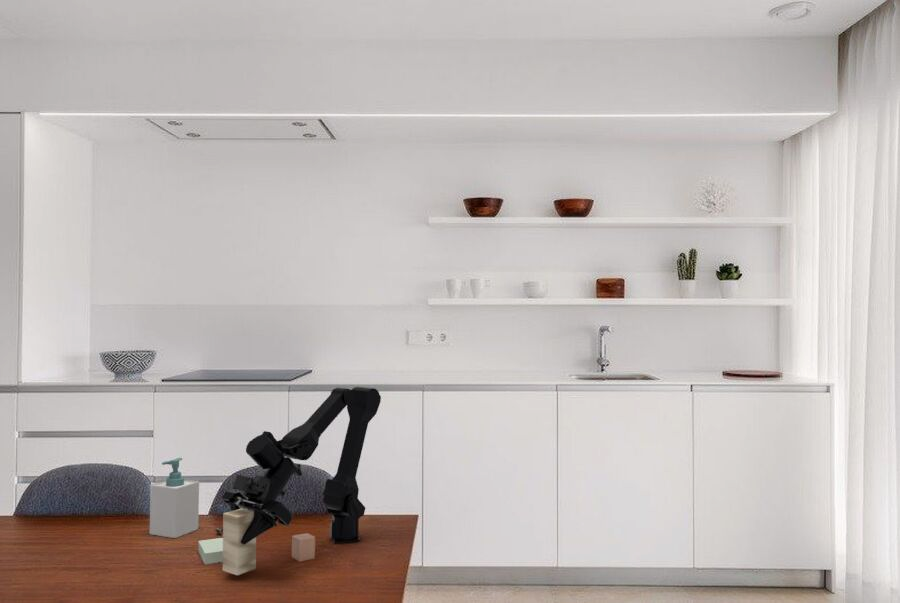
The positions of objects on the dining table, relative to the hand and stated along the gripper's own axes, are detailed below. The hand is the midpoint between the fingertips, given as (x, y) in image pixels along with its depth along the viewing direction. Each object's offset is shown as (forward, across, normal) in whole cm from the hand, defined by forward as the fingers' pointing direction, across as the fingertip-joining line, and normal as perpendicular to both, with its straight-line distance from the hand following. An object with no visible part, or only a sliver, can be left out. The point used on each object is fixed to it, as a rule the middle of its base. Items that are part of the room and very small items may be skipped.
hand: (234, 541), depth 160 cm
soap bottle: (-2, -39, +14) cm, 42 cm away
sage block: (0, -14, +12) cm, 18 cm away
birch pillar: (+4, 0, +6) cm, 7 cm away
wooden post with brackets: (-8, -28, +21) cm, 36 cm away
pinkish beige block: (-7, +2, +19) cm, 20 cm away
